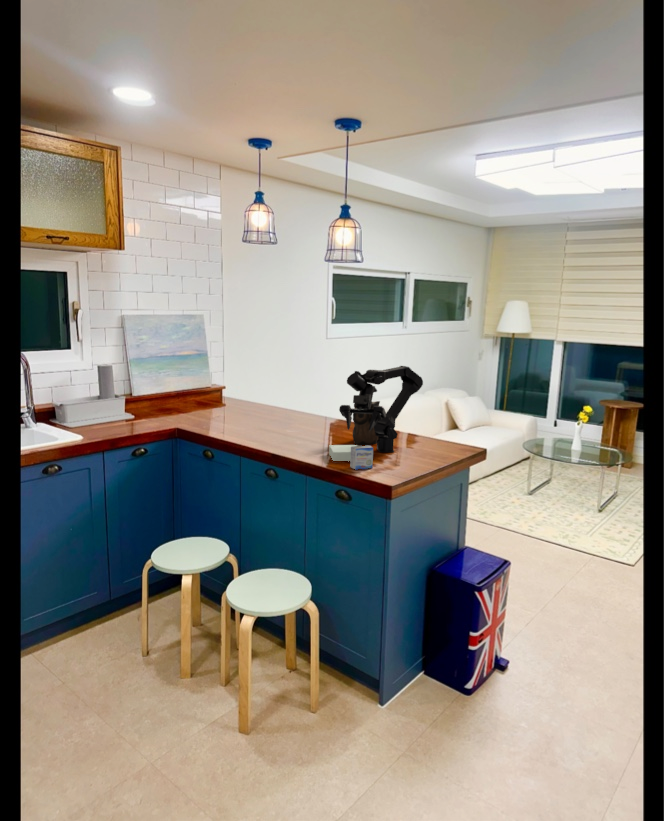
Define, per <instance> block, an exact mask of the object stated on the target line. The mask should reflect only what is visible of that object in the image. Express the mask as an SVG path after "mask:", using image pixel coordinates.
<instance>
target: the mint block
mask: <svg viewBox="0 0 664 821" xmlns="http://www.w3.org/2000/svg"><path fill="white" fill-rule="evenodd" d="M353 446H358V445H355V444H333V445H332V444H329V445H328V454H329V455H328V456H331V457H330V459H331V458H332V459H331V460H333V461H348V462H349V461H350V460H351V447H353ZM333 461H332V462H333ZM348 462H347V463H348ZM349 463H350V462H349Z"/></svg>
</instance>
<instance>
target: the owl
mask: <svg viewBox="0 0 664 821" xmlns="http://www.w3.org/2000/svg"><path fill="white" fill-rule="evenodd" d="M380 403H381V401H380V400H378V401H377V400H376V401H372V404H371V407H370V409H374V406H380ZM353 408H354V409H356V407H355V403H353ZM371 419H372V414H362V413H352V421H353V424H354V427H353V429H352V440H353V445H355V444H356V445H357V446H362V445H365V446H366V445H369V446H372V445H373V444H375V445H377V440H378V436H376V434H375V431H374V427H373V428H372V429H371V431H370V430H369V426H370V422H371ZM371 444H372V445H371Z"/></svg>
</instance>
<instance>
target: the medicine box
mask: <svg viewBox="0 0 664 821" xmlns="http://www.w3.org/2000/svg"><path fill="white" fill-rule="evenodd" d="M373 459H374V447H373V446H372V445H365V446H362V445H357V446H353V447H351V460H350V462H349V465H350V466H349V468H351V469H352V470H354V469H355V471H359V470H358V469H362V470H369V469H368V468H371V469H373V465H374V464H373V463H374V462H373V461H374V460H373Z"/></svg>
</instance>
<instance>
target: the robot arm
mask: <svg viewBox="0 0 664 821" xmlns="http://www.w3.org/2000/svg"><path fill="white" fill-rule="evenodd" d="M395 378H400V380H401V381H402V383H401V390H400V391H399V393H398V395H397V396H396V398H395V399H394V401H393V402H392V404H391V405H390V407H389V409H388V410H387V411H386V410H385V407H384V406H383V405H382V406H381V405H379V406H374V409H370V407H371V404H372V402H373V401H372V400H373V397H374V396H373V395H374V393H377V392H378V389H377V388H376V386H375V385H381V384H383V383H385V382H386V381H387V380H390V379H395ZM346 384H347V385H348V386H350V387H351V388H352V389H353V390H354V391H356V392H359V394H358V395H357V394H354V395H353V399H352V400H353V401H352V404H355V407H356V409H354V407H351V405H350V404H341V405H340V406H339V409H338V410H339V413H340V414H341V416H342V417H343V418H344V419H345V421H346V428H347V430H350V429H351V424H352V421H353V413H362V414H372V419H371V422H370V426H369V430H370V431H371V429H372V428H373V427H374V431H375V434H376V436H378V440H377V444H376V449H377V451H378V452H379V453H395V450H394V440H396V439H397V437H398V432H397V431H396V430H395V427H396V419H397V418H398V416H399V415H400V414H401V412H402V410H403V409H404V407H405V406H406V404H407V402H408V401H409V399H410V398H411V396H413V395H414V394H416V393H417V392H419V391H420V389H422V387H423V386H424V381H423V378H422V377H421V376H420V375H419V374H418V373H416V371H413V370H412V368H411V367H409V366H406V365H399V366H397V367H391V368H386V369H383V370H382V369H368V370H366V372H365V373H363V374H362V373H361V372H360V371H359V370H354V372H353V373H351V374H350V375H349V376H347V378H346Z"/></svg>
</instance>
